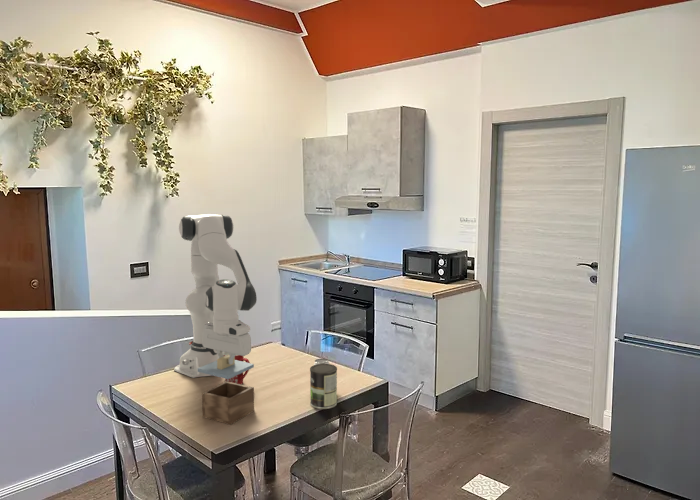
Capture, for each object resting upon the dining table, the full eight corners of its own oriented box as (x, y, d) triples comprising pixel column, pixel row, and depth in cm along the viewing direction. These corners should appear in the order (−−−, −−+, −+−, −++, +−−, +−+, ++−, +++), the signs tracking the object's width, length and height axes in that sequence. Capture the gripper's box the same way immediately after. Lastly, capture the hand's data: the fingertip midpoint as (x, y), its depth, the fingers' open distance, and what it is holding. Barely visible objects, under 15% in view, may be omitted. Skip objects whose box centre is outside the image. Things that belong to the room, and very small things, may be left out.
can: (327, 392, 212) (327, 363, 210) (312, 391, 213) (311, 362, 211) (331, 386, 218) (331, 358, 216) (316, 385, 219) (316, 357, 218)
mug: (218, 384, 220) (217, 353, 218) (233, 378, 228) (232, 347, 226) (241, 390, 213) (240, 358, 212) (256, 383, 221) (255, 352, 220)
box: (202, 417, 189) (201, 393, 188) (226, 403, 201) (226, 381, 200) (230, 424, 183) (230, 399, 182) (254, 410, 195) (253, 387, 194)
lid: (197, 374, 187) (197, 358, 186) (224, 362, 199) (224, 348, 199) (228, 382, 181) (227, 366, 180) (253, 369, 193) (253, 354, 192)
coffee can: (310, 409, 196) (310, 373, 194) (310, 398, 206) (309, 363, 204) (338, 408, 196) (337, 372, 195) (336, 397, 207) (336, 363, 205)
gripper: (197, 323, 190) (198, 360, 192) (242, 332, 180) (242, 370, 182) (210, 319, 196) (210, 355, 197) (253, 327, 186) (253, 365, 188)
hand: (226, 362), depth 190 cm, fingers closed on lid
